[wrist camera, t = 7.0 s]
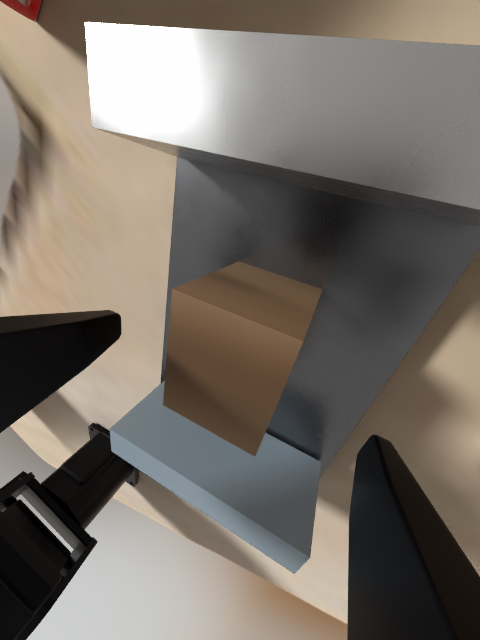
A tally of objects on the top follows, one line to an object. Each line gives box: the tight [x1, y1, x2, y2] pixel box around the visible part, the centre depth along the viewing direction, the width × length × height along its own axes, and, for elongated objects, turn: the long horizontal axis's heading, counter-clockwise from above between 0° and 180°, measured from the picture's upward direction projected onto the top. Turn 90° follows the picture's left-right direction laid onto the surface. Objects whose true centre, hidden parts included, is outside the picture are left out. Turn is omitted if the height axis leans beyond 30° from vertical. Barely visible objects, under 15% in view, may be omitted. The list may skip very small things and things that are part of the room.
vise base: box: [85, 22, 480, 478], centre depth 11 cm, size 18×12×6 cm, turn 164°
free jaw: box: [110, 380, 321, 574], centre depth 14 cm, size 2×11×4 cm, turn 74°
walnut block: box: [163, 261, 322, 456], centre depth 10 cm, size 5×4×5 cm
